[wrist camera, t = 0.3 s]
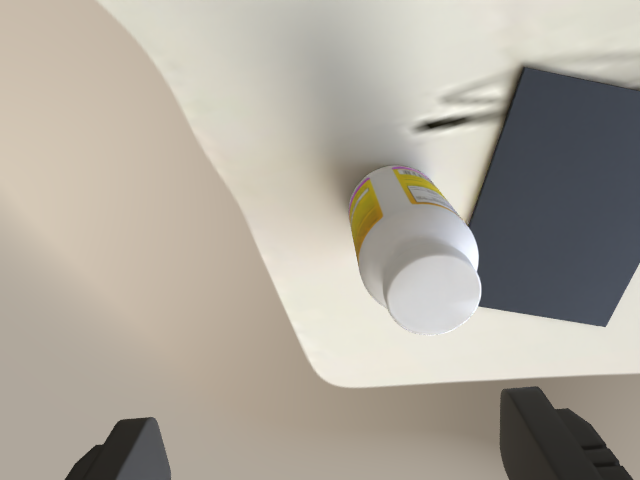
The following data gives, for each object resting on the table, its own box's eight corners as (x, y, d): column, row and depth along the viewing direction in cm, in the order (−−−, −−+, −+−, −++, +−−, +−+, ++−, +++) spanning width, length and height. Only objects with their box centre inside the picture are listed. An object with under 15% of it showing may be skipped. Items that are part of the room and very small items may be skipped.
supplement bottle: (362, 257, 36) (384, 366, 24) (336, 179, 33) (346, 260, 22) (447, 231, 35) (512, 331, 23) (426, 149, 32) (488, 216, 21)
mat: (523, 67, 30) (525, 67, 30) (718, 107, 31) (721, 108, 31) (443, 298, 37) (444, 300, 37) (603, 325, 39) (605, 327, 38)
